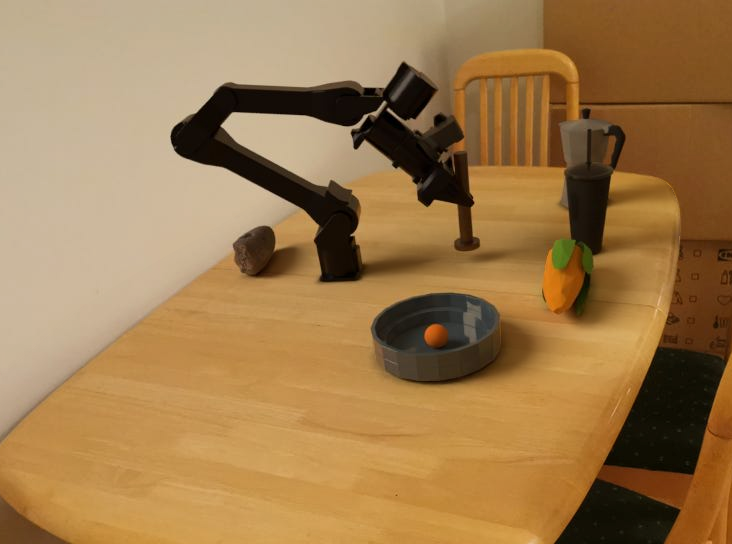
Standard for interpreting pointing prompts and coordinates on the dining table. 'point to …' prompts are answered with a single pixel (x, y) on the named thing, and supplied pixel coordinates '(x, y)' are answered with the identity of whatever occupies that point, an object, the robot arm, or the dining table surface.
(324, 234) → the robot arm
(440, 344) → the ball
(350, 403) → the dining table surface
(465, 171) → the stirring stick
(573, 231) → the drinking cup
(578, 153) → the coffeepot
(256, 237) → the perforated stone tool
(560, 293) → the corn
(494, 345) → the bowl
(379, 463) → the dining table surface
